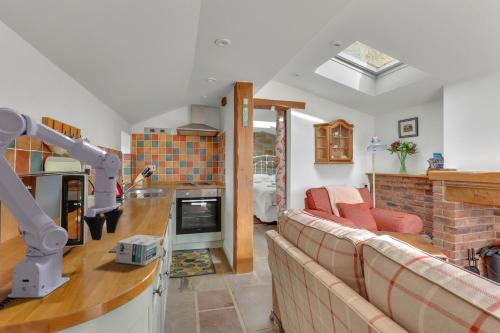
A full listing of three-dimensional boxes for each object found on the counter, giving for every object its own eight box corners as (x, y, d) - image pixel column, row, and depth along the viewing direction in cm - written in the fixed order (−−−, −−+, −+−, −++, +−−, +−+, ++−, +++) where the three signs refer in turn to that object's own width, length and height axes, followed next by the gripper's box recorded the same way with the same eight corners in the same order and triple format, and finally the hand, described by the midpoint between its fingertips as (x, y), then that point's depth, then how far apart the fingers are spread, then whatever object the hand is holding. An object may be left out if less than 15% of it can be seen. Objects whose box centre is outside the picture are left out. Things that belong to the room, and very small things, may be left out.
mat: (134, 252, 89) (134, 251, 89) (108, 252, 88) (108, 251, 88) (146, 242, 101) (146, 241, 101) (124, 242, 100) (124, 241, 100)
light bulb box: (114, 262, 79) (145, 266, 77) (116, 241, 79) (146, 244, 77) (136, 252, 89) (163, 255, 87) (137, 233, 89) (164, 236, 87)
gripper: (105, 189, 83) (104, 230, 83) (75, 193, 68) (74, 243, 68) (127, 189, 83) (125, 230, 83) (101, 194, 68) (99, 243, 68)
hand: (104, 236), depth 75 cm, fingers open, 7 cm apart
